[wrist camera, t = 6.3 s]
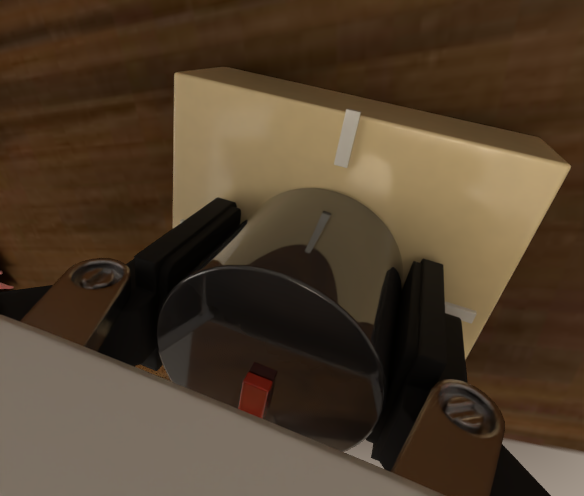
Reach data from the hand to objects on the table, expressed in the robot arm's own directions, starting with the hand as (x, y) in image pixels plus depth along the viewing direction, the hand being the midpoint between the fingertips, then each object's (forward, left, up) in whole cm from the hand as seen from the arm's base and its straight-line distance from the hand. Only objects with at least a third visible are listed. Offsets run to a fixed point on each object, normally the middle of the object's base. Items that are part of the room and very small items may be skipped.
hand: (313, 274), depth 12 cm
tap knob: (0, 0, 0) cm, 0 cm away
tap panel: (0, 0, -3) cm, 3 cm away
